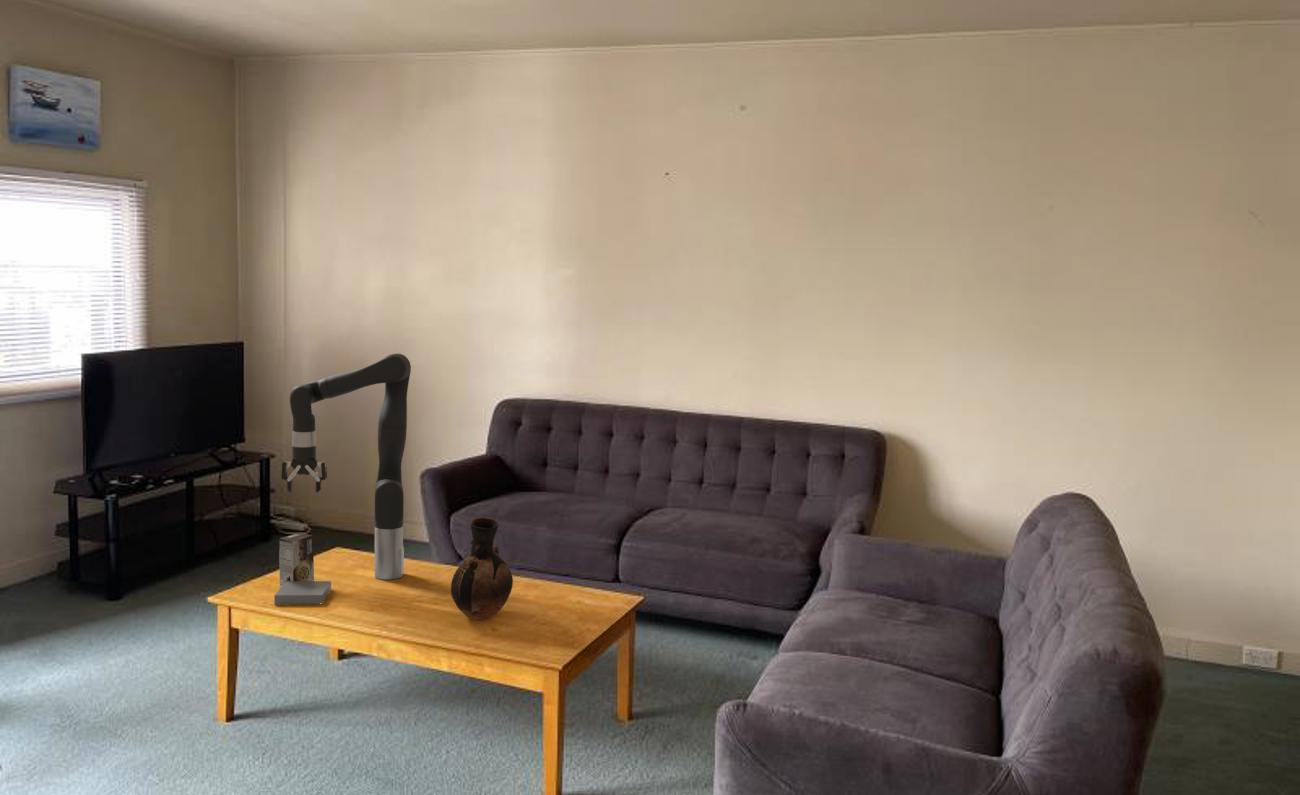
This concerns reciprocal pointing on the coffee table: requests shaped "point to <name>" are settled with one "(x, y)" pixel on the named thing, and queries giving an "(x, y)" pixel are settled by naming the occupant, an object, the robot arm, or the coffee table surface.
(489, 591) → the ceramic vessel
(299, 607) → the coffee table surface
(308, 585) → the plinth
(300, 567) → the coffee box
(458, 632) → the coffee table surface
